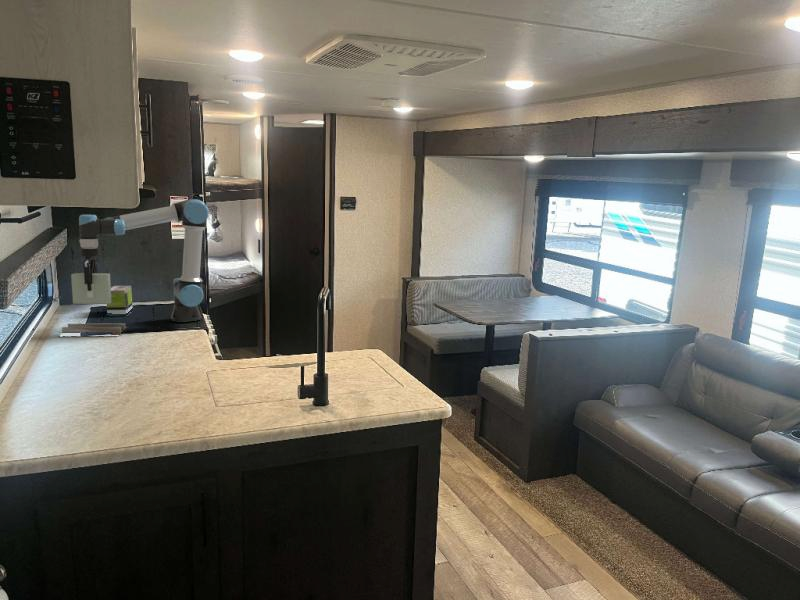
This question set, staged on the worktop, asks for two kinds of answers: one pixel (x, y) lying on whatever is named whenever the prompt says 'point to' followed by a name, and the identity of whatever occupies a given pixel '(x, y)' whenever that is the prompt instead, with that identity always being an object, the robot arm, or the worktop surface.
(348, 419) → the worktop surface
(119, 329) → the walnut track
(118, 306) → the tea box
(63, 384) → the worktop surface
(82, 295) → the door panel
